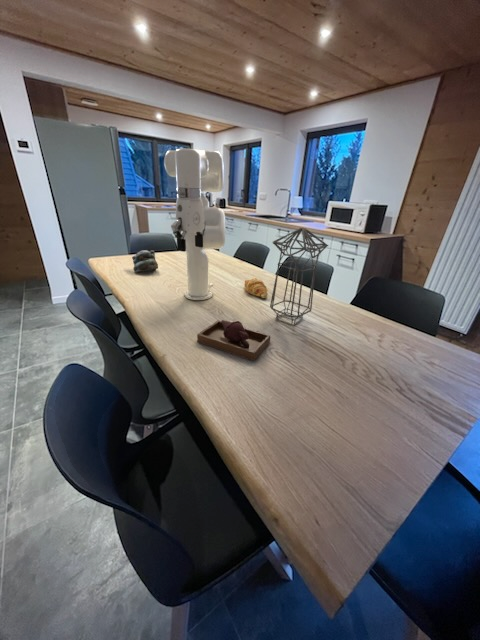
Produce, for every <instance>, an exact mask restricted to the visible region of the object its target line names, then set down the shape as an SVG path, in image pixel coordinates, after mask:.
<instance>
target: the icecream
mask: <svg viewBox="0 0 480 640" xmlns="http://www.w3.org/2000/svg"><path fill="white" fill-rule="evenodd" d="M220 321H221V322H222V324H223V327H224V329H225V331H224V333H223V334H224V337H225V338H227V339H228V340H230V341H232V342H239V341H240V342H241V343H242V345H243V346H244V347H245V348H249V343H248V342H247V341H246V340H247V339H248V337H249V336H248V334H247V333H246V332H245V329H244V328H245V327H244V325H243V323H242V322H241V321H238V320H236V321H228V320H224V319H222V320H220Z"/></svg>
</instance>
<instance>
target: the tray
mask: <svg viewBox="0 0 480 640" xmlns="http://www.w3.org/2000/svg"><path fill="white" fill-rule="evenodd" d="M221 321H222V320H219V319H218V320H216V321H214V322H213V323H211V324H210V325H209V326H207V327H206V328H204V329H203V330H201V331H200V332H199V333H197V335H196V338H197V339H196V340H197V341H196V342H198V343H200V344H203V345H206V346H209V347H212V348H214V349H218V350H221V351H224V352H227V353H229V354H232V355H235V356H238V357H241V358H244V359H247V360H249V361H252V362H254V361H255V360H256V359H257V358H258V357H259V355H261V353H262V352H263V351H264V350H266V347H267V346H268V345H269V344H270V343H271V335H270V334H267V333H264V332H260V331H258V330H257V331H256V330H254V329H250V328H246V327H244V329H245V332H246V333H247V334H248V336H249V337H248V339H247V340H246V341H247V342H248V343H249V348H245V347H244V346H243V345H242V343H241V342H240V341H239V342H232V341H230V340H228V339H227V338H225V337H224V334H223V333H224V331H225V329H224V327H223V324H222V322H221Z"/></svg>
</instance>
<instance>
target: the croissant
mask: <svg viewBox="0 0 480 640" xmlns="http://www.w3.org/2000/svg"><path fill="white" fill-rule="evenodd" d="M244 289H245V291H246V292H247V293H248V294H250V295H253V296H255V297H259V298H262V299H266V298H268V288H267V286H266V285H265V283H264V282H263V280H261V279H259V278H252V279H248V280H247V279H246V280H245V281H244Z"/></svg>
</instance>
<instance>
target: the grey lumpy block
mask: <svg viewBox="0 0 480 640" xmlns="http://www.w3.org/2000/svg"><path fill="white" fill-rule="evenodd" d="M131 258H132V264H133V268H132V269H133V271H134V273H136V274H138V273H139V272H145V271H156V270H158V269H159V264H158V262H157V260H156V253H155V251H154V250H151V249H150V248H147V249H146V250H140V251H137V252H136V253H135V255H133V256H131Z"/></svg>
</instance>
